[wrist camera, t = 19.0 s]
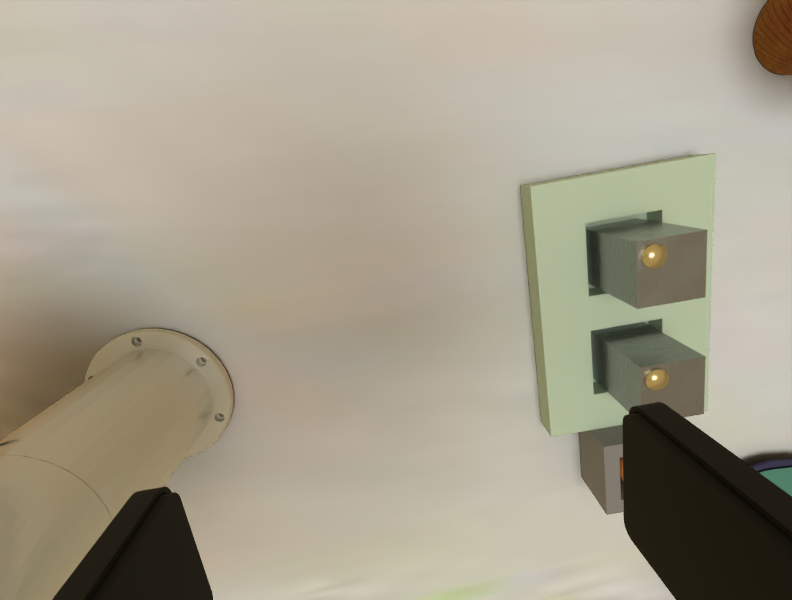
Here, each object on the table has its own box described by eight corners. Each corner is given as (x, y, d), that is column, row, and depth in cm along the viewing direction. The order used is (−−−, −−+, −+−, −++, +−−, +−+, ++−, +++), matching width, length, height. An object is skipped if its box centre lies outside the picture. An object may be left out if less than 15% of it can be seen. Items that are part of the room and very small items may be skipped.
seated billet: (641, 367, 39) (705, 415, 31) (590, 375, 39) (642, 425, 32) (640, 320, 38) (707, 357, 30) (588, 329, 38) (641, 368, 30)
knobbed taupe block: (638, 272, 37) (707, 298, 29) (584, 281, 37) (639, 309, 29) (637, 218, 36) (709, 230, 28) (581, 227, 36) (638, 242, 28)
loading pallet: (687, 459, 43) (725, 495, 38) (546, 482, 43) (567, 520, 38) (692, 155, 35) (742, 151, 30) (520, 185, 35) (542, 187, 30)
